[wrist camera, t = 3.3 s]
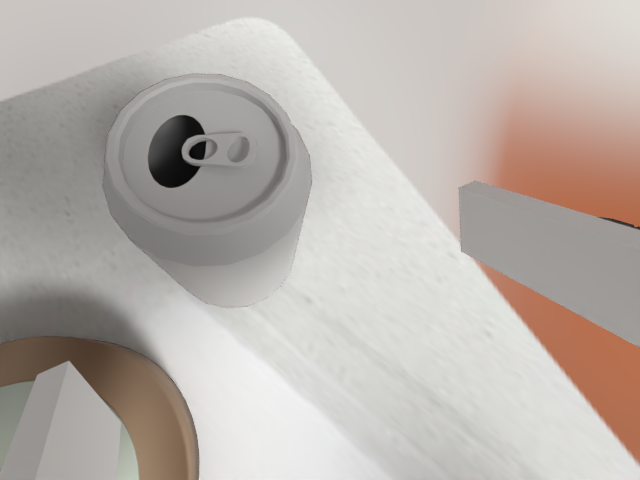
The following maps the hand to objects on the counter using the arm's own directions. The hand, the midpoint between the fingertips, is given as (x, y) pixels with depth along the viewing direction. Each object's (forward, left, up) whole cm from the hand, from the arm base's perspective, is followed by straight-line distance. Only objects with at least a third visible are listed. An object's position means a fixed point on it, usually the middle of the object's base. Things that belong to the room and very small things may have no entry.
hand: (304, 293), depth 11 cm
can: (-4, +4, -11) cm, 13 cm away
